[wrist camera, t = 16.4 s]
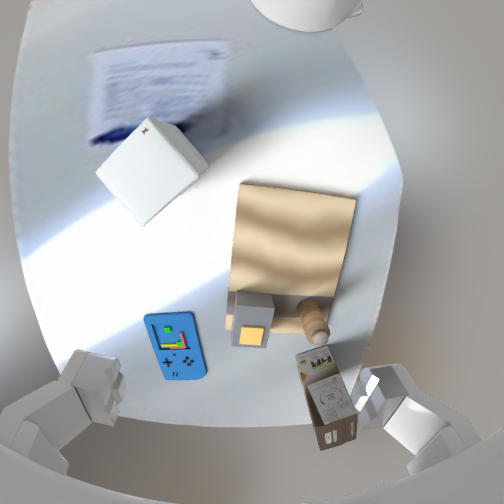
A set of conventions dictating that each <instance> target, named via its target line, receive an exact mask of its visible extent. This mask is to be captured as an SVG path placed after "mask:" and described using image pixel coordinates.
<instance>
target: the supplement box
mask: <svg viewBox="0 0 504 504" xmlns="http://www.w3.org/2000/svg"><path fill="white" fill-rule="evenodd" d="M208 166H209V164H208V163H207V161H206V160H205V159H204V158H203V156H202V155H201V154H200V153H199V152H198V150H197V149H196V148H195V147H194V146H193V145H192V143H191V142H190V141H189V140H188V139H187V138H186V137H185V136H184V134H183V133H182V132H181V131H180V130H179V129H178V128H177V127H176V126H174V125H172V124H169V123H166V122H162V121H159V120H156V119H153V118H150V117H147V118H146V119H145V120H144V121H143V122H142V123H141V124H140V125H139V126H138V127H137V128H136V129H135V130H134V131H133V132H132V133H131V134H130V135H129V136H128V137H127V138H126V140H125V141H124V142H123V143H122V144H121V145H120V146H119V147H118V148H117V149H116V150H115V151H114V152H113V153H112V154H111V156H110V157H109V158H108V159H107V160H106V161H105V162H104V163H103V164H102V165H101V167H100V168H99V169H98V170H97V171H96V174H97V175H98V177H99V178H100V179H101V180H102V181H103V183H104V184H105V185H106V186H107V187H108V189H109V190H110V191H111V192H112V193H113V195H114V196H115V197H116V198H117V199H118V200H119V201H120V203H121V204H122V205H123V206H124V207H125V208H126V209H127V211H128V212H129V213H130V214H131V215H132V216H133V217H134V218H135V219H136V221H137V222H138V223H139V224H140V225H141V226H142V227H143V226H144V225H145V224H147V223H148V222H149V221H150V220H151V219H152V218H153V217H154V216H156V215H157V214H158V213H159V212H160V211H161V210H162V209H164V208H165V207H166V206H167V205H168V204H169V203H171V202H172V201H173V200H174V199H175V198H176V197H178V196H179V195H180V194H181V193H182V192H183V191H185V190H186V189H187V188H188V187H189V186H190V185H192V184H193V183H194V182H195V181H196V180H198V179H199V178H200V176H201V174H202V173H203V172H204V171H205V170H206V169H207V168H208Z"/></svg>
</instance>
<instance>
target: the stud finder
mask: <svg viewBox="0 0 504 504" xmlns="http://www.w3.org/2000/svg"><path fill="white" fill-rule="evenodd" d="M274 310H275V307H274V304H273V300H272V296H271V294H270V293H258V292H247V291H236V297H235V305H234V312H233V320H232V328H231V340H232V346H239V347H255V348H266V346H267V341H268V337H269V333H270V328H271V323H272V319H273V314H274Z"/></svg>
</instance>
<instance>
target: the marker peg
mask: <svg viewBox="0 0 504 504" xmlns="http://www.w3.org/2000/svg"><path fill="white" fill-rule="evenodd" d="M297 313H298V315H299V318H300V321H301V323H302V326H303V329H304V331H305V334H306V337H307V339H308V341H309V342H310V343H312V344H315V345H316V346H323V345H325V344H326V343H327V342H328V337H329V336H330V330H329V327H328V325H327V323H326V321H325V319H324V317H323V315H322V313H321V311H320V309H319V307H318V305H317V303H316V302H315V300H313V299H310V298H307V299H303V300H302V301H300V302H299V303H298V305H297Z"/></svg>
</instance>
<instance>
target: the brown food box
mask: <svg viewBox="0 0 504 504" xmlns="http://www.w3.org/2000/svg"><path fill="white" fill-rule="evenodd" d="M295 358H296V363H297V367H298V371H299V375H300V380H301V384H302V387H303V391H304V395H305V399H306V402H307V406H308V409H309V413H310V416H311V420H312V423H313V427H314V430H315V434H316V437H317V441H318V444H319V447H320V450H321V451H322V450H325V449H329V448H332V447H336V446H339V445H342V444H344V443H346V442H348V441H351V440H354V439H356V432H357V413H356V411H355V408H354V406H353V404H352V401H351V399H350V396H349V394H348V392H347V389H346V387H345V385H344V382H343V380H342V378H341V375H340V373H339V371H338V369H337V366H336V364H335V362H334V359H333V357H332V355H331V353H330V350H329V348H328V346H324V347H321V348H318V349H315V350H312V351H308V352H305V353H302V354H299V355H296V356H295Z"/></svg>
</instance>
